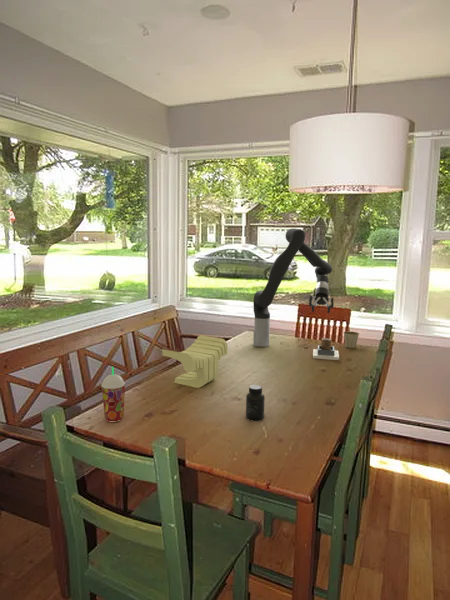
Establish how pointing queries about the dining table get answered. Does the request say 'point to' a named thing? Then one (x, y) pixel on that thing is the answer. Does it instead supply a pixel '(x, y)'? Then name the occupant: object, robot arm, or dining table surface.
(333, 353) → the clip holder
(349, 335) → the flower pot
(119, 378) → the smoothie
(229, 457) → the dining table surface
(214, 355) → the slatted curved stool
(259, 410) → the supplement bottle
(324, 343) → the walnut block
